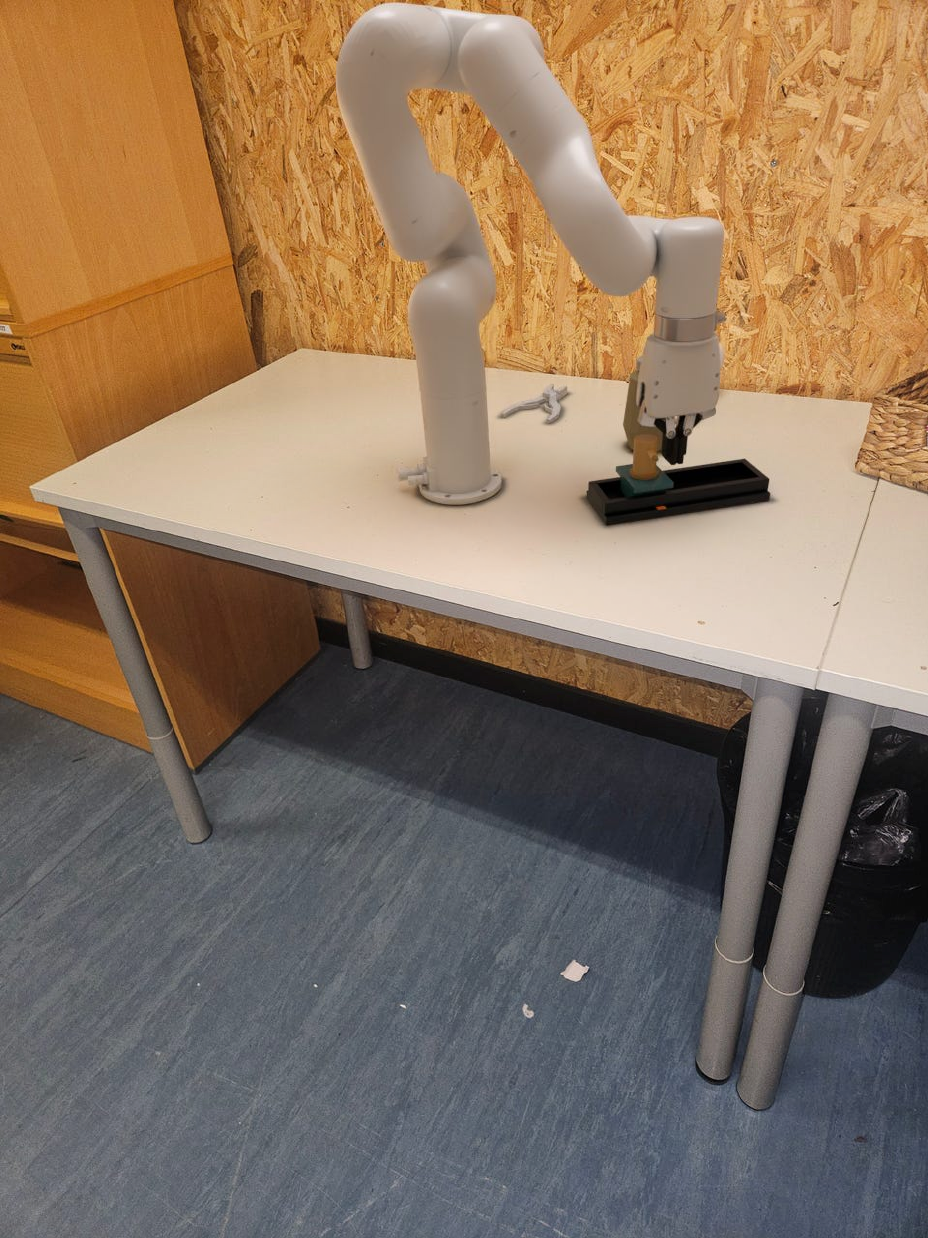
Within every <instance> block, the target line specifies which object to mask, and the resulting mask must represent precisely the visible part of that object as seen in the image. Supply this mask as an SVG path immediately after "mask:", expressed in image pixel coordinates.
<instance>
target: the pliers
mask: <svg viewBox="0 0 928 1238" xmlns="http://www.w3.org/2000/svg"><path fill="white" fill-rule="evenodd" d="M554 387H555V385H554V383H550V384H548V386H546V388H545V389H544V390H543V392H542V396H539V397H536V398H533V399H526V400H523V401H520V402H517V403H515V404H513V405H511V406H509V407H507V408H506V409H504V411H503V412H502V413H501V418H504V419H505V418H506V417H508V416H510V415H511V414H514V413H515V412H518V411H521V410H533V409H537V408H540V405H541V404H543V408H544V411H546V412H547V413H550V415H549V416H548V418H547V419H546V423H547V424H549V425H551V423H554V421H556V420H557V419H558V418H559V417H560V415H561V404H560V403H559V402H558V401H560V400H561V399H562V398H564V397H565V396H566V395H568V385H563V386H561V387H559V388H556V389H554ZM546 403H548V406H547V405H546Z"/></svg>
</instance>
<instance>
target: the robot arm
mask: <svg viewBox="0 0 928 1238" xmlns="http://www.w3.org/2000/svg"><path fill="white" fill-rule="evenodd" d="M340 47H341V48H340V50H339V54H338V58H337V62H336V68H335V90H336V91H335V93H336V99H337V103H338V108H339V111H340V114H341V117H342V118H341V119H342V120H343V124H344V126H345V129H346V131H347V134H348V136H349V139H350V142H351V144H352V146H353V149H354V152H355V154H356V157H357V159H358V162H359V165H360V168H361V171H362V173H363V178H364V180H365V183H366V185H367V188H368V191H369V193H370V196H371V199H372V202H373V205H374V207H375V209H376V212H377V215H378V218H379V221H380V224H381V226H382V229H383V231H384V234H385V237H386V240H387V242H388V244H389V245H390V247H391V249H392V250H393V251H394V252H395V254H396V255H397V256H398V257H400V259H403V260H405V261H407V262H411V263H423V265H424V268H425V271H426V274H424V275H423V276H422V277H421V278H420V279H419V280H418V281H417V282H416V284H415V285H414V287H413V288H412V291H411V293H410V295H409V298H408V303H407V308H406V318H407V325H408V330H409V334H410V339H411V342H412V347H413V351H414V356H415V361H416V363H415V364H416V369H417V378H418V386H419V392H420V402H421V413H422V422H423V432H424V441H425V452H426V454H425V455H426V456H423V457H422V461H423V462H422V463H417V465H416V466H412V467H411V466H407V467H399V468H397V469H396V473H397V479H398V482H404V481H407V484H408V486H415V485H418V486H419V492H420V494H421V495H422V497H424V498H425V499H427V500H429V501H431V502H434V503H437V504H443V505H453V506H454V505H455V506H457V505H467V504H469V505H470V504H475V503H478V502H481V501H485V500H487V499H489V498H491V497H493V496H494V495H496V494H497V493H498V492H499V491H500V490H501V488H502V475H501V474H500V473H499V472H498V471H497V470H496V469H495V468H493V467H491V450H490V449H491V447H490V432H489V412H488V411H489V410H488V409H489V408H488V394H487V380H486V376H487V375H486V365H485V358H484V357H485V356H484V350H483V345H482V342H481V341H482V340H481V335H480V324H481V323H482V322H483V320H484V319H485V318H486V317H487V316H488V314H489V313H490V312H491V311H492V309H493V307H494V305H495V303H496V298H497V292H498V288H497V287H498V285H497V279H496V274H495V271H494V267H493V263H492V261H491V258H490V254H489V251H488V248H487V246H486V242H485V240H484V239H485V238H484V236H483V233H482V230H481V226H480V224H479V221H478V218H477V214H476V212H475V209H474V206H473V202H472V200H471V199H470V197H469V195H468V193H467V192H466V190H465V188H464V186H463V185H462V184H461V183H460V182H459V181H457V180H456V179H455V178H454V177H452V176H451V175H449V174H447V173H444V172H439V171H435V168H434V165H433V162H432V159H431V157H430V154H429V152H428V151H429V150H428V148H427V144H426V140H425V138H424V135H423V132H422V130H421V128H420V126H419V124H418V122H417V120H416V118H415V116H414V115H413V113H412V111H411V108H410V106H409V99H408V98H409V97H408V95H409V93H410V92H411V91H416V90H425V89H428V90H436V91H437V90H438V91H444V92H452V93H457V94H464V95H470V96H471V98H472V100H473V101H474V102H475V104H476V105H477V106H478V108H479V109H480V111H481V112H482V114H483V115H484V116H485V118H486V119H487V120H488V122H489V124H490V125H491V126H492V128H493V129H494V130H495V132H496V133H497V134H498V136H499V137H500V139H501V141H502V142H503V143H504V145H505V146H506V147H507V149H508V150H509V152H510V153H511V154H512V156H513V157H514V159H515V161H516V162H517V163H518V164H519V167H521V169H522V170H523V172H524V173H525V174H526V176H527V177H528V180H529V182H530V183H531V186H532V188H533V191H534V193H535V196H536V197H537V199H538V201H539V203H540V204H541V206H542V209H543V211H544V212H545V214H546V216H547V218H548V220H549V222H550V224H551V225H552V228H553V229H554V231H555V233H556V234H557V236H558V238H559V239H560V241H561V242H562V244H563V246H564V247H565V249H566V250H567V251H568V252H569V254H570V256H571V257H572V258H573V260H574V261H575V262H576V264H577V265H578V266H579V268H580V269H581V271H582V272H583V274H584V275H585V276H586V278H587V279H588V280H589V281H590V282H591V284H592V285H593V286H594V287H595V288H597V289H598V290H599V291H600V292H602V293H604V294H606V295H608V296H611V297H627V296H630V295H632V294H634V293H636V292H637V291H639V290H640V289H642V287H643V286H644V285H645V284H646V282H647V281H648V280H649V278H651V277H654V278H655V280H656V285H655V300H654V318H653V333H654V334H653V336H650V335H648V336H647V337H646V339H645V343H644V347H643V350H642V355H641V356H642V359H641V364H640V370H639V377H638V385H637V395H636V404H637V406H638V407H639V408H641V409H640V412H639V415H638V419H637V421H638V422H639V423H640V424H641V425H642V426H649V427H657V428H658V429H659V430H660V431H661V432H662V433H663V436H662V450H661V451H660V452H661V456H662V458H664V460H665V461H666V462H668V464H670V466H675V465H683V464H684V457H685V456H686V455H687V448H688V438H689V436H691V435H692V433H693V430H694V428H695V427H696V426H697V425H698V424H700V422H701V421H704V420H706V419H709V418H712V417H714V416H715V415H716V413H717V405H718V402H719V398H720V389H721V372H720V348H719V343H720V340H719V335H718V333H716V331H717V326H718V325H720V324H724V323H725V321H726V314H725V312H724V311H721V312H720V311H718V310H717V308H718V301H719V299H718V298H719V292H720V291H719V290H720V281H721V270H722V260H723V251H724V242H725V241H724V240H725V228H724V225H723V223H722V222H721V221H720V220H718V219H716V218H713V217H709V216H686V217H685V216H684V217H679V218H673V219H671V218H659V217H653V216H651V217H650V216H645V215H638V214H637V215H635V214H633V215H627V214H626V212H625V211H624V210H623V208H622V206H621V205H620V204H619V202H618V200H617V199H616V197H615V196H614V194H613V193H612V190H611V189H610V187H609V185H608V184H607V182H606V179H605V178H604V175H603V173H602V171H601V169H600V166H599V162H598V161H597V157H596V152H595V148H594V147H595V146H594V141H593V139H592V135H591V131H590V129H589V127H588V124H587V122H586V121H585V120H584V118H583V117H582V115H581V114H580V112H579V111H578V109H577V108H576V106H575V105H574V104H573V102H572V101H571V99H570V97H569V96H568V95H567V93H566V92H565V90H564V89H563V87H562V86H561V84H560V83H559V81H558V80H557V78H556V76H555V75H554V74H553V72H552V70H551V69H550V68H549V65H548V64H547V63H546V60H545V50H544V45H543V42H542V39H541V37H540V34H539V33H538V31H537V30H536V28H535V27H534V26H533V25H532V24H531V22H529V21H528V20H526V19H524V18H522V17H520V16H518V15H513V14H512V15H511V14H500V13H499V14H493V13H492V14H491V13H484V12H483V13H482V12H474V11H467V10H461V9H460V10H459V9H453V8H446V7H439V6H433V5H425V4H415V3H406V2H386V3H382V4H378V5H376V6H374V7H371V8H370V9H369V10H367V11H366V12H364V13H363V14H362V15H361V16H359V17H358V19H357V20H356V21H355V22H354V24H353V25H352V26H351V28H350V29H349V31H348V32H347V34H346V37H345V38H344V41H343V43H342V45H341V46H340ZM675 416H678V418H677V420H676V422H675V418H674V417H675Z"/></svg>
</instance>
